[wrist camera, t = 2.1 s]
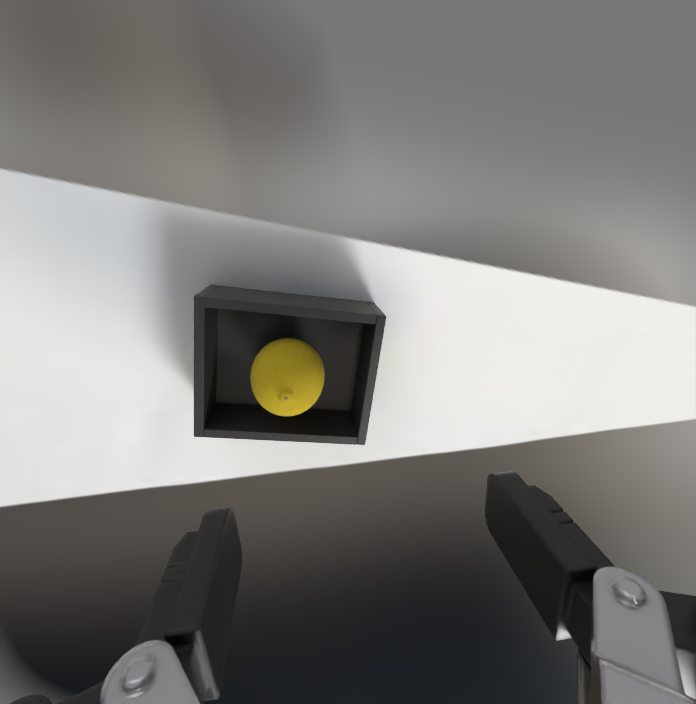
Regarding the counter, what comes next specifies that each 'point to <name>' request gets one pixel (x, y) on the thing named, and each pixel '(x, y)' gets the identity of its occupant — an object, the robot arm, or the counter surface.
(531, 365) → the counter surface
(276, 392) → the lemon
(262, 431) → the tote
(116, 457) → the counter surface
